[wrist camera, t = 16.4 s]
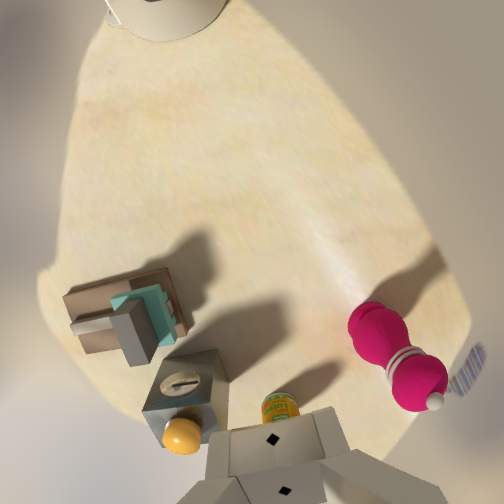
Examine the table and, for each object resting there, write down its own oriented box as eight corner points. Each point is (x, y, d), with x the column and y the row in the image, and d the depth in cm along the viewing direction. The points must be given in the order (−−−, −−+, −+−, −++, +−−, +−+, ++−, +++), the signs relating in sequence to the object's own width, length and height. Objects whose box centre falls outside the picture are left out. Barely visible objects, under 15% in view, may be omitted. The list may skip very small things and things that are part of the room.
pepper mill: (354, 293, 41) (428, 370, 22) (398, 303, 42) (481, 374, 22) (336, 341, 43) (391, 437, 23) (380, 348, 43) (446, 434, 24)
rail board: (67, 293, 40) (57, 300, 37) (167, 267, 40) (161, 274, 37) (90, 349, 42) (82, 359, 39) (188, 331, 42) (184, 341, 39)
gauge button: (160, 420, 30) (156, 431, 28) (194, 415, 30) (192, 428, 28) (173, 444, 31) (170, 456, 29) (206, 440, 31) (205, 453, 29)
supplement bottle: (285, 385, 44) (294, 429, 35) (303, 407, 45) (314, 450, 36) (254, 402, 45) (257, 446, 35) (273, 422, 46) (279, 466, 36)
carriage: (120, 290, 39) (93, 315, 30) (162, 280, 38) (142, 304, 30) (138, 339, 40) (117, 372, 32) (179, 331, 40) (166, 365, 32)
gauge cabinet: (161, 355, 43) (139, 407, 31) (215, 345, 42) (208, 398, 31) (177, 392, 44) (162, 447, 32) (229, 383, 44) (226, 440, 32)
